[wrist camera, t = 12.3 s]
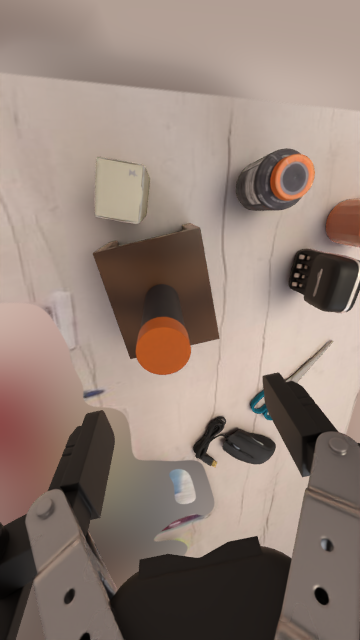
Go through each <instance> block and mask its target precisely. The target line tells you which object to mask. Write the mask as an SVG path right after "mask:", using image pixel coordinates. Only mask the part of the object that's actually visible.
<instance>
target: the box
mask: <svg viewBox="0 0 360 640" xmlns="http://www.w3.org/2000/svg"><path fill="white" fill-rule="evenodd" d="M149 184H150V178H149V175H148V173H147V170H146V167H145V165H143V164H138V163H133V162H128V161H122V160H116V159H110V158H103V157H97V159H96V170H95V216H96V217H100V218H105V219H110V220H115V221H120V222H126V223H132V224H139V223H140V222H141V221H142V220H143V219H144V217H145V216H146V213H147V205H148V195H149Z"/></svg>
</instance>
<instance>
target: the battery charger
mask: <svg viewBox="0 0 360 640" xmlns="http://www.w3.org/2000/svg"><path fill="white" fill-rule="evenodd" d="M288 285H289V287H290V288H291V289H293V290H294V291H297V292H299V293H301V294H303V295H304V300H305V301H306V302H308V303H309V304H311V305H313V306H314V307H316V308H318V309H320V310H322V311H326V312H336V313H344V312H347V311H349V310H351V308H352V307H353V305H354V303H355V301H356V298H357V296H358V293H359V291H360V261H359V260H356V259H354V258H351V257H347V256H343V255H339V254H334V253H328V252H322V251H318V250H315V249H302V250H300V251H298V252H297V254H296V256H295V259H294V263H293V267H292V270H291V274H290V278H289V284H288Z"/></svg>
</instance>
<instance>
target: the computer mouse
mask: <svg viewBox="0 0 360 640" xmlns="http://www.w3.org/2000/svg"><path fill="white" fill-rule="evenodd" d="M218 419H219V420H218ZM221 419H224V420H225V422H224V421H222V420H221ZM225 424H226V419H225V418H224V417H218V418H216V419H215V420H213V421H212V422H211V423H210V424H209V427H208V430H207V433H206V435H204V438H203V439H201V440H200V441H198V442H197V443H196V444H195V445H194V447H193V450H194V452H195V453H196V455H195V456H196V458H199V459H201V460H202V461H203V462H205V463H206V464H208V465H210V466H211V465H212V466H213V467H216V464H217V462H216V461H215V460H214V459H213V458H211V457H210V456H208V455H206V451H207V449H208V446H209V443H210V442H211V441H212V440H213V439H215V438H216V437H218V436H224V437H225V438H227V440H226V441H225V442H224V444H223V450H224V451H226V452H227V453H229V454H230V455H231V456H233V457H235V458H236V459H238V460H241V461H244V462H247V463H251V464H262V463H264V462H266V461H267V460H268V459H269V458H270V457H271V456H272V455H273V453H274V451H275V448H276V446H275V443H274V442H273V441H272V440H271V439H269V438H267V437H265V436H262V435H256V434H251V433H248V432H245V431H243V430H240V429H239V430H238V431H236V432H235V433H234V434H232V435H230V436H228V435H226V434H225V435H223V434H220V435H217V434H218V433H220V432H221V431H222V430H223V428H224V425H225ZM216 425H217V426H216ZM215 426H216V427H215ZM214 428H215V429H214ZM216 435H217V436H216ZM214 436H215V437H214Z"/></svg>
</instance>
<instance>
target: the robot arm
mask: <svg viewBox="0 0 360 640" xmlns="http://www.w3.org/2000/svg"><path fill="white" fill-rule="evenodd" d="M263 388H264V398H265V404H266V407H267V410H268V412H269V414H270V416H271V418H272V420H273V422H274V424H275V426H276V428H277V429H278V431H279V433H280V435H281V437H282V439H283V441H284V443H285V445H286V447H287V449H288V450H289V452H290V454H291V456H292V458H293V460H294V462H295V464H296V466H297V468H298V470H299V471H300V473H301V475H302V477H305V476H310V478H309V483H308V487H307V488H306V490H305V493H304V498H303V503H302V508H301V513H300V519H299V524H298V529H297V534H296V539H295V544H294V549H293V555H292V558H290V557H289V556H287V555H285V554H284V553H282V552H279V551H277V550H275V549H272V548H268V547H263V546H260V544H259V540H258V537H257V536H255V537H250V538H245V539H240V540H235V541H230V542H227V543H225V544H224V545H222V546H220V547H218V548H217V549H215V550H213V551H211V552H210V553H208V554H206V555H204V556H203V557H200V558H193V557H186V556H178V555H172V554H166V555H161V556H156V557H151V558H146V559H141V560H140V563H139V572H137V573H135V574H134V575H133V576H131V577H130V578H129V579H128V580H127V581H126V582H125V583H124V584H123V585H122V586H121V587H120V588H119V589H117V587H116V585H115V584H114V582H113V581H112V578H111V577H110V575H109V573H108V571H107V569H106V566H105V564H104V562H103V560H102V558H101V556H100V553H99V551H98V549H97V547H96V545H95V543H94V541H93V539H92V536H91V534H90V532H89V531H88V528H89V524H90V520H92V519H97V518H100V516H101V511H102V506H103V501H104V495H105V491H106V485H107V480H108V475H109V470H110V465H111V460H112V454H113V450H114V443H115V438H114V433H113V430H112V428H111V426H110V423H109V421H108V419H107V417H106V415H105V413H104V411H103V410H101V411H96V412H92V413H88V414H86V416H85V418H84V421H83V424H82V426H78V427H77V428H76V429H75V430H74V432H73V433H72V434H71V435H70V437H69V440H68V442H67V444H66V449H64V452H63V454H62V457H61V459H60V462H59V464H58V467H57V470H56V472H55V474H54V477H53V479H52V482H51V484H50V487H49V489H48V491H47V492H46V493H44V494H42V495H41V496H40V497H39V498H38V499H37V500H36V501H35V502H34V503H33V504H32V506H31V507H30V509H29V511H28V513H27V514H26V515H24V516H22V517H20V518H18V519H16V520H14V521H12V522H11V523H9V524H7V525H5V526H3V525H2V524H1V523H0V640H16V637H17V633H18V630H19V626H20V623H21V620H22V617H23V613H24V610H25V607H26V604H27V600H28V597H29V593H30V590H31V587H32V583H33V586H34V591H35V595H36V600H37V604H38V609H39V613H40V618H41V623H42V627H43V632H44V636H45V640H360V443H356V442H355V441H354V440H353V439H352V438H350V437H349V436H347V435H345V434H342V433H339V432H338V431H337V430H336V428H335V427H334V426H333V424H332V423H331V422H330V421H329V419H328V418H327V417H326V416H325V414H324V413H323V412H322V411H321V409H320V408H319V407H318V405H317V404H315V402H314V400H313V399H312V398H311V397H310V396H309V394H308V393H307V392H306V390H305V389H304V388H303V387H302V386H301V385H299V384H297V383H296V382H294V381H289V382H286V381H285V380H284V379H283V377H282V376H281V374H280V373H274V374H269V375H264V376H263Z"/></svg>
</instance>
